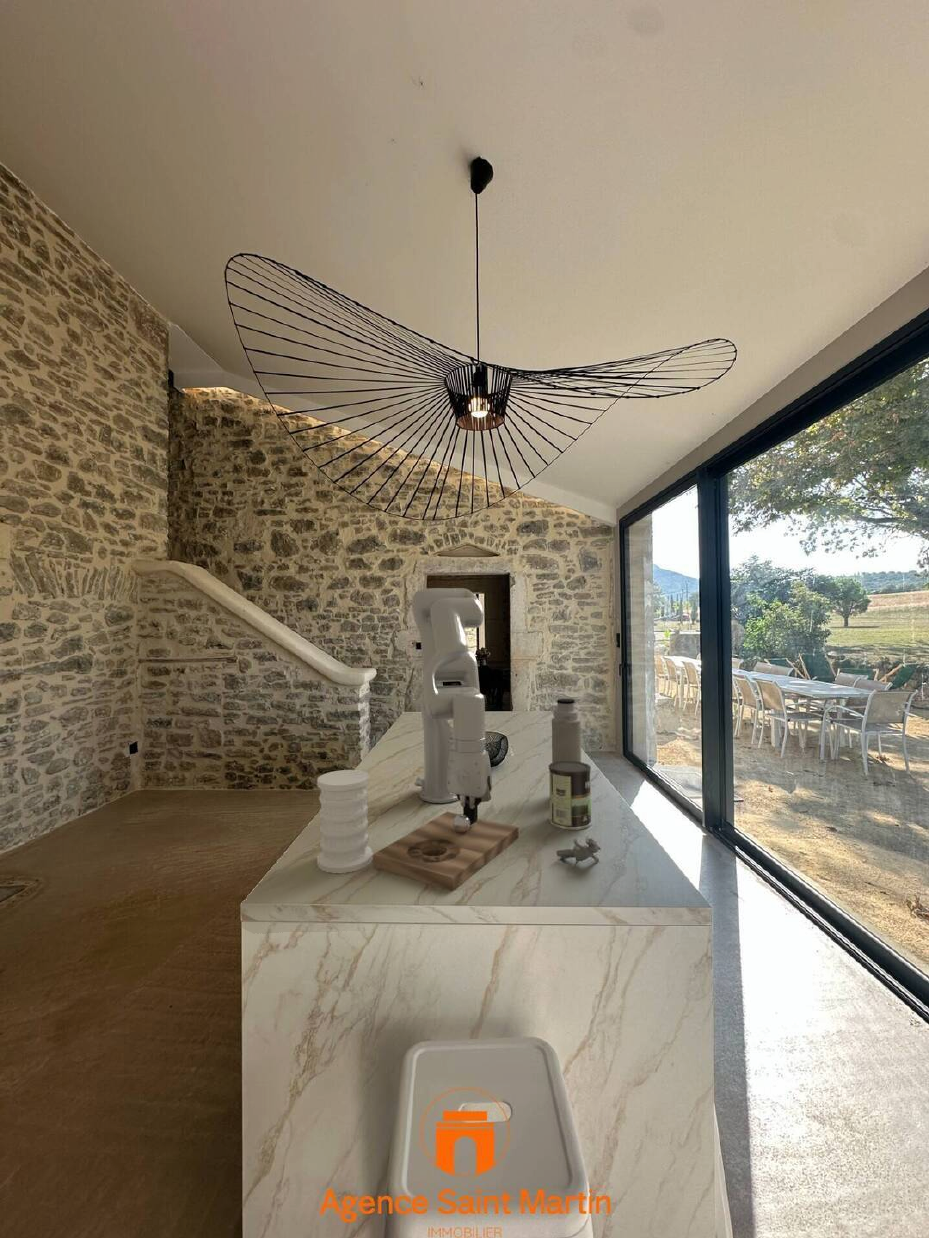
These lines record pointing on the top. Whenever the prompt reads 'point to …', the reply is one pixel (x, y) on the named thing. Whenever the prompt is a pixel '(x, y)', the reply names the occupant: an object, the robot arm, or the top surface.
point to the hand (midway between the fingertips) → (470, 822)
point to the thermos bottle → (566, 732)
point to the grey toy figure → (580, 851)
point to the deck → (445, 851)
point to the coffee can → (570, 795)
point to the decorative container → (344, 821)
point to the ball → (461, 823)
